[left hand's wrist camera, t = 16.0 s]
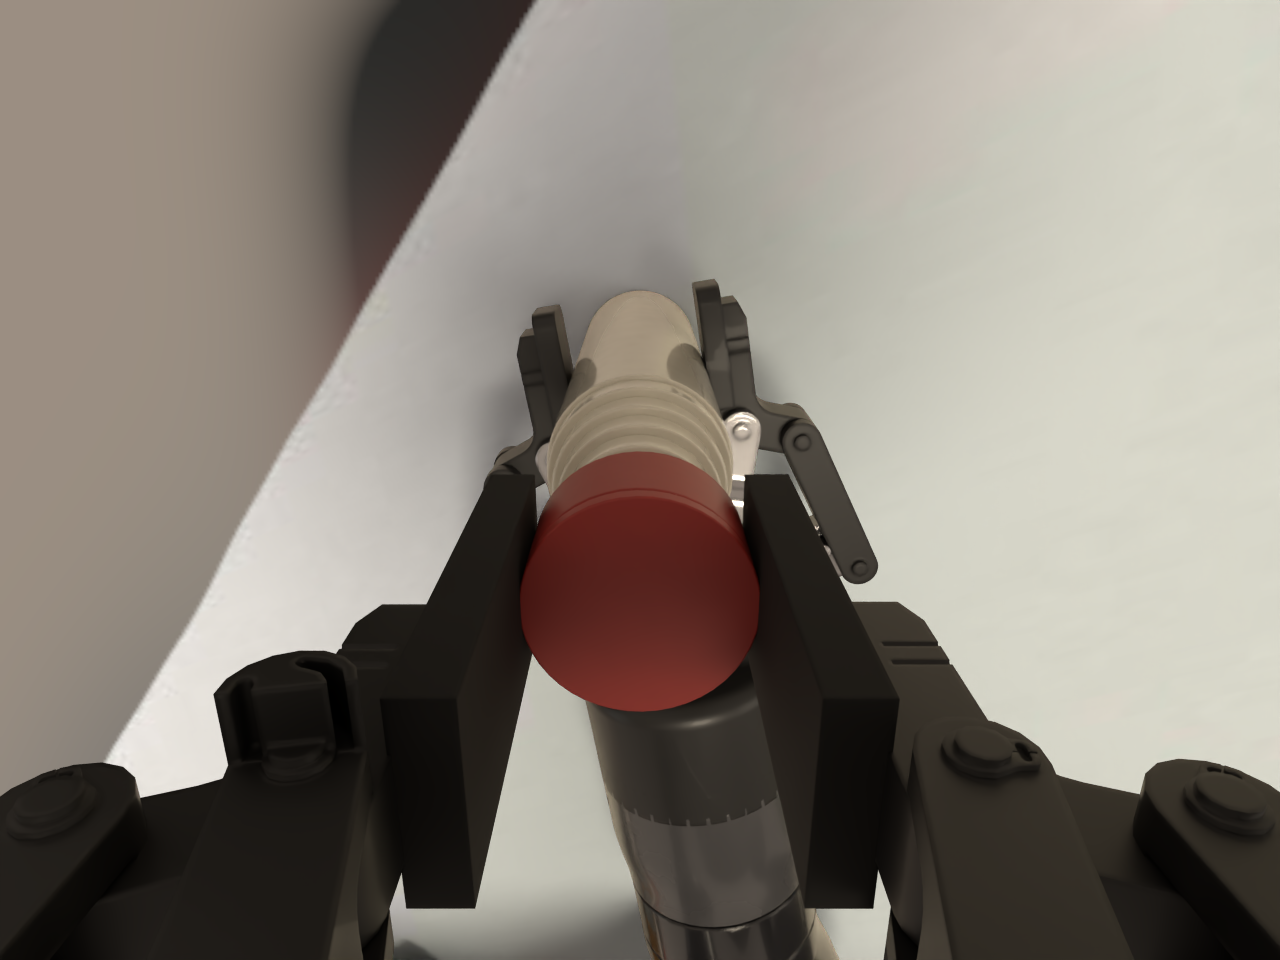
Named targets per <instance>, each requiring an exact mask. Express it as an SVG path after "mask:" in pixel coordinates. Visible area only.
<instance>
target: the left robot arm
mask: <svg viewBox="0 0 1280 960" xmlns="http://www.w3.org/2000/svg"><path fill="white" fill-rule="evenodd" d="M742 525H743V528H744V532H745V535H746V539H747V542H748V545H749V549H750V552H751V556H752V559H753V562H754V566H755V570H756V573H757V576H758V580H759V585H760V595H759V614H758V629H757V634H756V636H755V639H754V641H753V644H752V646H751V648H750V650H749V651H748V653H747V655H748V659H749V664H750V668H751V673H752V677H753V682H754V686H755V691H756V695H757V699H758V704H759V708H760V713H761V717H762V722H763V726H764V731H765V735H766V740H767V744H768V748H769V753H770V757H771V762H772V766H773V771H774V775H775V780H776V784H777V789H778V793H779V798H780V802H781V806H782V811H783V815H784V820H785V824H786V829H787V833H788V838H789V842H790V847H791V851H792V856H793V860H794V864H795V869H796V873H797V878H798V882H799V887H800V891H801V896H802V900H803V905H804V909H873V906H874V898H875V890H876V882H877V874H878V870H879V873H880V876H881V879H882V882H883V885H884V888H885V891H886V894H887V897H888V899H889V902H890V905H891V910H890V917H889V925H888V932H887V939H886V946H885V954H884V960H1280V792H1279V791H1277V790H1276V789H1274V788H1273V787H1272V786H1270V785H1269V784H1266V783H1264V782H1262V781H1260V780H1258V779H1256V778H1254V777H1252V776H1249V775H1247V774H1245V773H1243V772H1242V771H1239V770H1237V769H1234V768H1231V767H1228V766H1222V765H1221V764H1216V763H1211V762H1208V761H1198V760H1187V759H1175V760H1170V761H1165V762H1160V763H1157V764H1156V765H1155V766H1153V767H1152V768H1151V769H1150V770H1149V771H1148V772H1147V773H1146V774H1145V777H1144V781H1143V785H1142V789H1141V793H1140V794H1135V793H1130V792H1126V791H1121V790H1116V789H1111V788H1107V787H1102V786H1097V785H1093V784H1088V783H1083V782H1079V781H1076V780H1072V779H1069V778H1065V777H1062V776H1059V775H1056V773H1055V771H1054V768H1053V766H1052V764H1051V762H1050V761H1049V760H1048V758H1047V757H1046V756H1045V754H1044V753H1043V751H1042V750H1041V749H1040V747H1038V746H1037V745H1036V744H1034V743H1033V742H1032V741H1030V740H1029V739H1027V738H1026V737H1025V736H1023V735H1022V734H1021V733H1019V732H1017V731H1014V730H1012V729H1010V728H1008V727H1005V726H1003V725H1001V724H998V723H996V722H992V721H988V720H987V718H986V716H985V715H984V713H983V712H982V710H981V709H980V707H979V706H978V704H977V702H976V701H975V699H974V698H973V696H972V695H971V693H970V691H969V690H968V688H967V687H966V685H965V684H964V682H963V680H962V679H961V677H960V676H959V674H958V673H957V671H956V670H955V668H954V666H953V665H950V664H949V659H948V657H947V655H946V654H945V652H944V651H943V649H942V648H941V646H938V641H937V640H936V638H935V637H934V635H933V634H932V632H931V630H930V629H929V627H928V626H927V624H926V623H925V621H924V620H923V619H921V618H920V617H918V616H917V615H916V614H914V613H913V612H911V611H910V610H908V609H907V608H906V607H904V606H903V605H901V604H900V603H898V602H852V601H851V599H850V597H849V595H848V593H847V591H846V589H845V587H844V585H843V583H842V581H841V579H840V577H839V575H838V573H837V571H836V569H835V567H834V565H833V563H832V561H831V559H830V557H829V555H828V553H827V551H826V549H825V547H824V545H823V543H822V541H821V539H820V537H819V535H818V533H817V531H816V529H815V527H814V525H813V523H812V521H811V519H810V517H809V515H808V513H807V511H806V509H805V507H804V505H803V503H802V501H801V499H800V497H799V495H798V493H797V491H796V489H795V487H794V485H793V483H792V481H791V479H790V477H789V475H788V474H745V477H744V499H743V520H742ZM536 529H537V511H536V489H535V474H491V476H490V478H489V480H488V482H487V484H486V486H485V488H484V490H483V492H482V494H481V496H480V498H479V500H478V502H477V504H476V506H475V508H474V510H473V512H472V514H471V516H470V518H469V520H468V522H467V524H466V526H465V528H464V530H463V532H462V534H461V536H460V538H459V540H458V542H457V544H456V546H455V548H454V550H453V552H452V554H451V556H450V558H449V560H448V562H447V564H446V566H445V568H444V570H443V572H442V574H441V576H440V578H439V580H438V582H437V584H436V586H435V588H434V590H433V592H432V594H431V596H430V598H429V600H428V602H427V604H382V605H381V606H379V607H378V608H377V609H375V610H374V611H372V612H371V613H369V614H368V615H367V616H365V617H364V618H362V619H361V620H359V621H358V622H357V623H355V625H354V627H353V628H352V630H351V631H350V633H349V634H348V636H347V638H346V639H345V641H344V642H343V644H342V649H339V650H338V652H337V653H336V654H334V653H331V652H327V651H296V652H291V653H285V654H280V655H274V656H271V657H269V658H266V659H263V660H261V661H258V662H255V663H253V664H250V665H247V666H246V667H244V668H243V669H241V670H240V671H238V672H236V673H235V674H233V675H232V676H230V677H229V678H227V679H226V680H225V681H224V682H223V684H222V685H221V686H220V687H219V688H218V689H217V691H216V692H215V693H214V694H213V695H214V699H215V704H216V709H217V714H218V718H219V723H220V728H221V733H222V738H223V742H224V747H225V752H226V757H227V762H228V767H227V770H226V772H225V774H224V777H223V778H222V779H220V780H216V781H213V782H209V783H206V784H202V785H199V786H194V787H190V788H185V789H180V790H176V791H171V792H166V793H162V794H157V795H152V796H147V797H143V798H140V795H139V791H138V788H137V784H136V780H135V777H134V776H133V775H132V774H130V773H129V772H128V771H127V770H126V769H125V768H124V767H121V766H116V765H112V764H107V763H91V764H79V765H72V766H68V767H63V768H60V769H58V770H52V771H49V772H46V773H43V774H41V775H39V776H37V777H35V778H33V779H31V780H29V781H26V782H24V783H22V784H20V785H18V786H16V787H14V788H12V789H10V790H9V791H7V792H6V793H5V794H3V795H2V796H0V960H392V959H393V950H394V939H393V932H392V925H391V917H390V910H389V908H390V905H391V902H392V899H393V896H394V893H395V890H396V887H397V884H398V881H399V879H400V876H401V873H402V879H403V886H404V894H405V902H406V909H461V908H475V907H476V902H477V898H478V893H479V889H480V884H481V880H482V875H483V871H484V866H485V862H486V858H487V853H488V849H489V844H490V840H491V835H492V831H493V826H494V822H495V817H496V813H497V808H498V804H499V800H500V795H501V791H502V786H503V782H504V777H505V773H506V768H507V764H508V759H509V755H510V751H511V746H512V742H513V737H514V733H515V728H516V724H517V719H518V715H519V710H520V706H521V701H522V697H523V693H524V688H525V684H526V679H527V675H528V670H529V666H530V661H531V657H532V652H531V650H530V648H529V646H528V644H527V642H526V640H525V637H524V634H523V630H522V623H521V606H520V583H521V580H522V576H523V573H524V570H525V566H526V563H527V559H528V556H529V553H530V549H531V546H532V542H533V539H534V536H535V532H536Z"/></svg>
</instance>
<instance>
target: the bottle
mask: <svg viewBox="0 0 1280 960" xmlns="http://www.w3.org/2000/svg"><path fill="white" fill-rule="evenodd" d="M635 451H641V452H655V453H661V454H667V455H670V456H673V457H677V458H680V459H682V460H684V461H687V462H689V463H691V464H693V465H695V466H696V467H698V468H700V469H701V470H703V471H705V472H706V473H707V474H708V475H710V476H711V477H712V478H713V479H715V480H716V481H717V483H718V484H719V485H720V486H721V487H722V488H723V489H724V490H725V491H726V493H727V494H728V496H729V497H730V493H731V489H732V480H733V452H732V447H731V442H730V438H729V436H728V433H727V430H726V427H725V424H724V421H723V418H722V415H721V412H720V409H719V406H718V403H717V400H716V397H715V395H714V392H713V389H712V386H711V383H710V380H709V377H708V374H707V371H706V368H705V365H704V362H703V359H702V356H701V354H700V351H699V348H698V345H697V342H696V339H695V336H694V333H693V330H692V327H691V324H690V322H689V320H688V318H687V316H686V315H685V314H684V312H683V311H682V310H681V309H680V307H679V306H678V305H676V304H675V303H674V302H673V301H671V300H670V299H668V298H667V297H665V296H663V295H661V294H658V293H654V292H650V291H630V292H626V293H622V294H620V295H617V296H615V297H613V298H612V299H610V300H609V301H607V302H606V303H605V304H604V305H603V306H602V307H600V309H599V310H598V311H597V312H596V314H595V315H594V317H593V318H592V320H591V322H590V325H589V327H588V330H587V333H586V336H585V339H584V342H583V345H582V348H581V351H580V353H579V356H578V359H577V362H576V365H575V368H574V371H573V374H572V377H571V380H570V383H569V385H568V388H567V391H566V394H565V397H564V400H563V403H562V406H561V409H560V412H559V415H558V417H557V420H556V423H555V426H554V429H553V432H552V435H551V439H550V442H549V446H548V453H547V481H548V489H549V494H550V497H551V495H552V494H553V493H554V491H555V490H556V489H557V488H558V487H559V485H560V484H561V483H562V482H563V481H565V480H566V479H567V478H568V477H569V476H570V475H571V474H573V473H574V472H576V471H577V470H579V469H580V468H582V467H583V466H585V465H587V464H589V463H591V462H593V461H595V460H598V459H601V458H603V457H606V456H609V455H614V454H619V453H624V452H635Z"/></svg>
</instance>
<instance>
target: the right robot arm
mask: <svg viewBox="0 0 1280 960" xmlns="http://www.w3.org/2000/svg"><path fill="white" fill-rule="evenodd" d="M692 288H693V296H694V303H695V310H696V317H697V324H698V332H699V339H700V346H701V353H702V359H703V362H704V365H705V368H706V371H707V374H708V377H709V380H710V383H711V386H712V389H713V392H714V395H715V397H716V400H717V403H718V406H719V409H720V412H721V415H722V418H723V421H724V424H725V427H726V430H727V433H728V436H729V438H730V442H731V447H732V452H733V480H732V489H731V493H730V498H731V500H732V502H733V503H734V505H735V507H736V509H737V511H738V514H739V516H740V519H741V522H742V520H743V499H744V477H745V474H754V469H755V464H756V458H757V453H758V449H762V450H768V451H773V452H779V453H784V454H785V456H786V458H787V461H788V463H789V465H790V467H791V469H792V471H793V473H794V476H795V478H796V480H797V482H798V484H799V486H800V488H801V491H802V493H803V495H804V497H805V499H806V501H807V503H808V506H809V508H810V510H811V512H812V514H813V515H811V516H809V517H810V519H811V521H812V523H813V525H814V527H815V529H816V531H817V533H818V535H819V537H820V539H821V541H822V543H823V545H824V547H825V549H826V551H827V553H828V555H829V557H830V559H831V561H832V563H833V565H834V567H835V569H836V571H837V573H838V575H839V577H840V576H843V577H844V579H845V580H847V581H848V582H850V583H853V584H863V583H866V582H868V581H870V580H871V579H872V578H873V577H874V576H875V574H876V572H877V570H878V562H877V559H876V557H875V555H874V553H873V550H872V548H871V546H870V544H869V541H868V539H867V537H866V535H865V532H864V530H863V528H862V526H861V523H860V521H859V519H858V517H857V515H856V512H855V510H854V508H853V506H852V503H851V501H850V499H849V497H848V494H847V492H846V490H845V488H844V485H843V483H842V481H841V479H840V476H839V474H838V472H837V470H836V467H835V465H834V463H833V461H832V458H831V456H830V454H829V452H828V450H827V447H826V445H825V443H824V441H823V438H822V436H821V434H820V432H819V430H818V429H817V428H816V426H815V425H814V423H813V422H812V420H811V419H810V418H809V416H808V415H807V413H806V412H805V410H804V409H803V408H802V407H801V406H799V405H797V404H795V403H786V404H783V405H781V404H776V403H770V402H766V401H763V400H761V399H760V398H758V397H757V396H756V394H755V386H754V377H753V369H752V361H751V352H750V344H749V337H748V327H747V319H746V316H745V314H744V313H743V311H742V309H741V307H740V305H739V304H738V302H737V300H736V299H735V298H734V297H733V295H732V296H726V297H721V296H720V291H719V286H718V283H717V282H716V281H715V279H710V280H704V281H698V282H692ZM532 326H533V328H532V329H526V330H525V331H524V333H523V334H522V335H521V337H520V339H519V345H518V351H517V358H518V362H519V367H520V372H521V376H522V381H523V385H524V390H525V394H526V399H527V403H528V408H529V412H530V417H531V422H532V426H533V436H532V437H531V438H530V439H528V440H527V441H525V442H523V443H521V444H519V445H518V446H509V447H506V448H504V449H503V450H501V452H500V453H499V454H498V456H497V458H496V460H495V463H494V467H493V469H492V470H491V471H490V472H489V474H488V476H487V478H486V480H485V482H484V488H485V486H486V484H487V482H488V480H489V478H490V476H491V474H535V488H537V487H538V486H540V485H542V484H544V483H546V484H547V486H548V481H547V453H548V446H549V442H550V439H551V435H552V432H553V429H554V426H555V423H556V420H557V417H558V415H559V412H560V409H561V406H562V403H563V400H564V397H565V394H566V391H567V388H568V385H569V383H570V380H571V377H572V374H573V371H574V370H573V365H572V360H571V355H570V350H569V345H568V340H567V335H566V330H565V325H564V319H563V315H562V311H561V307H560V305H553V306H547V307H541V308H537V309H536V310H535V312H534V313H533V314H532ZM586 704H587V709H588V713H589V718H590V722H591V727H592V731H593V736H594V740H595V745H596V749H597V754H598V759H599V763H600V768H601V772H602V777H603V781H604V786H605V790H606V795H607V799H608V804H609V808H610V812H611V817H612V822H613V826H614V829H615V833H616V836H617V839H618V842H619V845H620V847H621V850H622V853H623V855H624V858H625V860H626V862H627V864H628V867H629V870H630V873H631V877H632V879H633V884H634V889H635V893H636V898H637V902H638V907H639V911H640V916H641V920H642V927H643V931H644V936H645V941H646V944H647V948H648V951H649V954H650V957H651V960H840V959H839V957H838V955H837V953H836V951H835V949H834V947H833V944H832V942H831V940H830V938H829V936H828V934H827V932H826V930H825V928H824V927H823V925H822V923H821V922H820V920H819V918H818V916H817V913H816V909H804V905H803V900H802V896H801V891H800V887H799V882H798V878H797V873H796V869H795V864H794V860H793V856H792V851H791V847H790V842H789V838H788V833H787V829H786V824H785V820H784V815H783V811H782V806H781V802H780V798H779V793H778V789H777V784H776V780H775V775H774V771H773V766H772V762H771V757H770V753H769V748H768V744H767V740H766V735H765V731H764V726H763V722H762V717H761V713H760V708H759V704H758V699H757V695H756V691H755V686H754V682H753V677H752V673H751V668H750V664H749V659H748V655H746V657H745V658H744V660H743V661H742V662H741V664H740V665H739V666H738V668H737V669H736V670H735V671H734V672H733V673H732V674H731V675H730V676H729V677H728V678H727V679H726V680H725V681H724V682H723V683H721V684H720V685H719V686H717V687H716V688H715V689H714V690H712V691H710V692H709V693H707V694H705V695H703V696H702V697H700V698H698V699H695V700H693V701H691V702H689V703H686V704H683V705H680V706H676V707H673V708H668V709H663V710H657V711H644V712H640V711H624V710H617V709H611V708H608V707H604V706H600V705H597V704H594V703H592V702H589V701H587V700H586Z"/></svg>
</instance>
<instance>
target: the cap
mask: <svg viewBox="0 0 1280 960" xmlns="http://www.w3.org/2000/svg"><path fill="white" fill-rule="evenodd" d="M759 595H760V585H759V580H758V576H757V573H756V570H755V566H754V562H753V559H752V556H751V552H750V549H749V545H748V542H747V539H746V535H745V532H744V528H743V525H742V522H741V519H740V516H739V514H738V511H737V509H736V507H735V505H734V503H733V502H732V500H731V498H730V497H729V496H728V494H727V493H726V491H725V490H724V489H723V488H722V487H721V486H720V485H719V484H718V483H717V481H716V480H715V479H713V478H712V477H711V476H710V475H708V474H707V473H706V472H705V471H703V470H701V469H700V468H698V467H696V466H695V465H693V464H691V463H689V462H687V461H684V460H682V459H680V458H677V457H673V456H670V455H667V454H661V453H655V452H641V451H635V452H624V453H619V454H614V455H609V456H606V457H603V458H601V459H598V460H595V461H593V462H591V463H589V464H587V465H585V466H583V467H582V468H580V469H579V470H577V471H576V472H574V473H573V474H571V475H570V476H569V477H568V478H567V479H566V480H565V481H563V482H562V483H561V484H560V485H559V487H558V488H557V489H556V490H555V491H554V493H553V494H552V495H551V497H550V498H549V500H548V502H547V503H546V505H545V507H544V509H543V511H542V513H541V516H540V519H539V522H538V525H537V529H536V532H535V536H534V539H533V542H532V546H531V549H530V553H529V556H528V559H527V563H526V566H525V570H524V573H523V576H522V580H521V583H520V606H521V623H522V630H523V634H524V637H525V640H526V642H527V644H528V646H529V648H530V650H531V652H532V654H533V655H534V657H535V658H536V660H537V661H538V663H539V664H540V665H541V667H542V668H543V669H544V670H545V671H546V672H547V673H548V675H549V676H551V677H552V678H553V679H554V680H555V681H556V682H557V683H558V684H559V685H561V686H562V687H564V688H565V689H567V690H568V691H570V692H571V693H573V694H575V695H577V696H578V697H580V698H582V699H584V700H587V701H589V702H592V703H594V704H597V705H600V706H604V707H608V708H611V709H617V710H624V711H640V712H644V711H657V710H663V709H668V708H673V707H676V706H680V705H683V704H686V703H689V702H691V701H693V700H695V699H698V698H700V697H702V696H703V695H705V694H707V693H709V692H710V691H712V690H714V689H715V688H716V687H717V686H719V685H720V684H721V683H723V682H724V681H725V680H726V679H727V678H728V677H729V676H730V675H731V674H732V673H733V672H734V671H735V670H736V669H737V668H738V666H739V665H740V664H741V662H742V661H743V660H744V658H745V657H746V655H747V653H748V651H749V650H750V648H751V646H752V644H753V641H754V639H755V636H756V634H757V629H758V614H759Z"/></svg>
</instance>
